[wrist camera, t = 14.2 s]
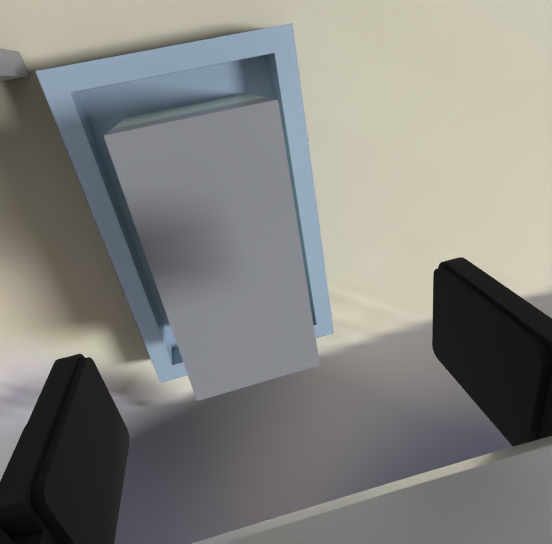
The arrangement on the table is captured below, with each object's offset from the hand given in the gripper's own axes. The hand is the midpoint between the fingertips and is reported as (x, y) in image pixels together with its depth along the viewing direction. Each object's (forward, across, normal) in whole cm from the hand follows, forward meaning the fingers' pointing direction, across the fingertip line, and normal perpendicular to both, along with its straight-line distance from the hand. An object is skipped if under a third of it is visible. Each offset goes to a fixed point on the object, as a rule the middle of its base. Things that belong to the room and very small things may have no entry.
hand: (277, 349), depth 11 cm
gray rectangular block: (+13, +1, +1) cm, 13 cm away
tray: (+14, +1, +1) cm, 14 cm away
